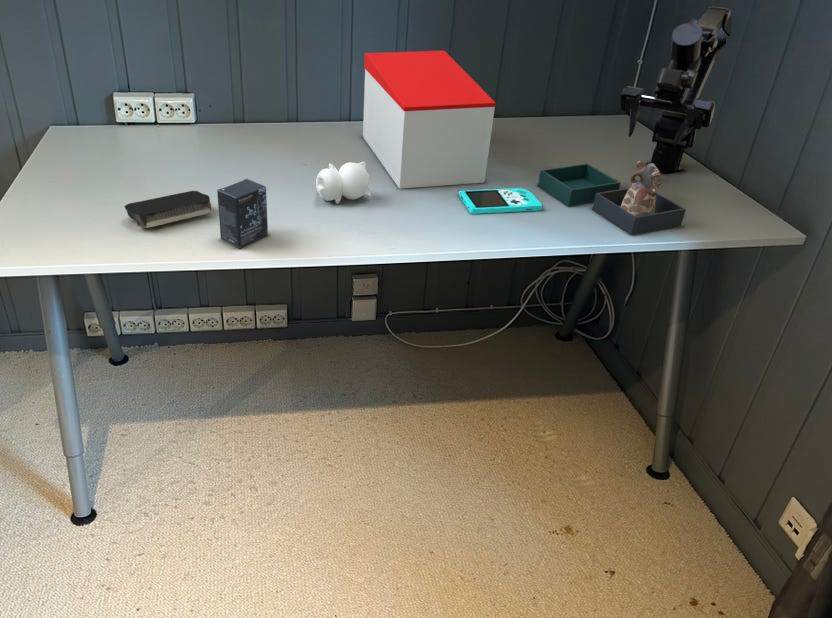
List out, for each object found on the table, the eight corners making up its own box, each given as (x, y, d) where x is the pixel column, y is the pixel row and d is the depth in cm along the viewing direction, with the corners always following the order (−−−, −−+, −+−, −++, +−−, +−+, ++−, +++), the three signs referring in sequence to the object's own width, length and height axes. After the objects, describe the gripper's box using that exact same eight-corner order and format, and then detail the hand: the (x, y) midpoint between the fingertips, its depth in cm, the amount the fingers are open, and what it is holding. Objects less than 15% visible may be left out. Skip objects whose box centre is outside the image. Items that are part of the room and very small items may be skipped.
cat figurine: (315, 161, 153) (370, 154, 155) (305, 171, 163) (357, 164, 166) (323, 203, 153) (377, 195, 156) (313, 211, 164) (363, 203, 167)
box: (239, 249, 141) (236, 197, 134) (220, 240, 143) (215, 189, 137) (269, 235, 145) (266, 185, 139) (249, 227, 148) (246, 177, 142)
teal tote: (584, 178, 173) (587, 163, 171) (616, 198, 164) (620, 182, 162) (537, 185, 169) (540, 170, 167) (568, 206, 160) (571, 190, 158)
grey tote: (639, 201, 163) (644, 185, 161) (680, 225, 154) (686, 209, 151) (591, 209, 159) (595, 193, 157) (630, 235, 149) (635, 218, 147)
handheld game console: (542, 210, 158) (543, 205, 157) (471, 214, 156) (472, 208, 155) (526, 192, 166) (527, 186, 165) (458, 195, 164) (458, 189, 163)
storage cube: (436, 132, 197) (444, 50, 185) (484, 182, 170) (497, 90, 158) (362, 136, 193) (364, 53, 181) (398, 188, 166) (405, 94, 153)
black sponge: (139, 234, 145) (137, 217, 142) (125, 218, 150) (122, 201, 148) (215, 216, 152) (214, 200, 150) (199, 201, 158) (197, 185, 156)
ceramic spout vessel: (644, 228, 152) (659, 172, 145) (612, 217, 156) (626, 163, 149) (658, 217, 157) (674, 163, 150) (627, 207, 160) (641, 154, 153)
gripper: (635, 45, 153) (606, 108, 151) (729, 60, 145) (700, 126, 143) (634, 79, 163) (607, 139, 161) (723, 95, 155) (696, 157, 153)
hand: (651, 140), depth 154 cm, fingers open, 9 cm apart
